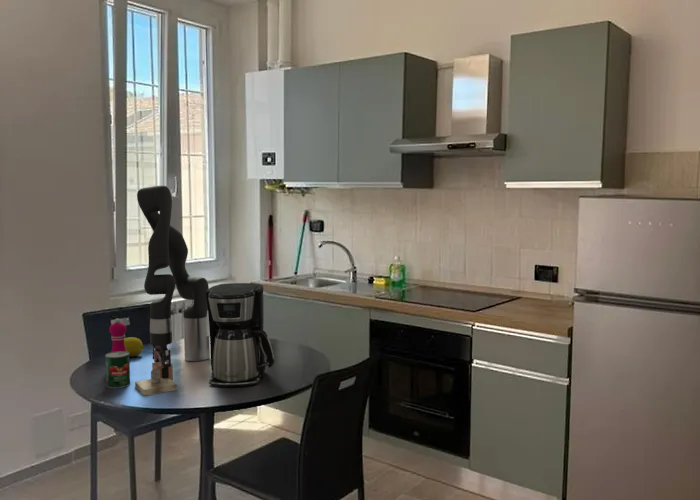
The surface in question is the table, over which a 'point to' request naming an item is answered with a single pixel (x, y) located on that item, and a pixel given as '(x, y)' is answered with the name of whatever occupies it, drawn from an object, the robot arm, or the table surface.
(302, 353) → the table surface
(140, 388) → the post base
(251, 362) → the coffee maker
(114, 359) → the canned tomato
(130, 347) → the lemon
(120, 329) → the pepper mill
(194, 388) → the table surface
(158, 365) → the cardboard cube
